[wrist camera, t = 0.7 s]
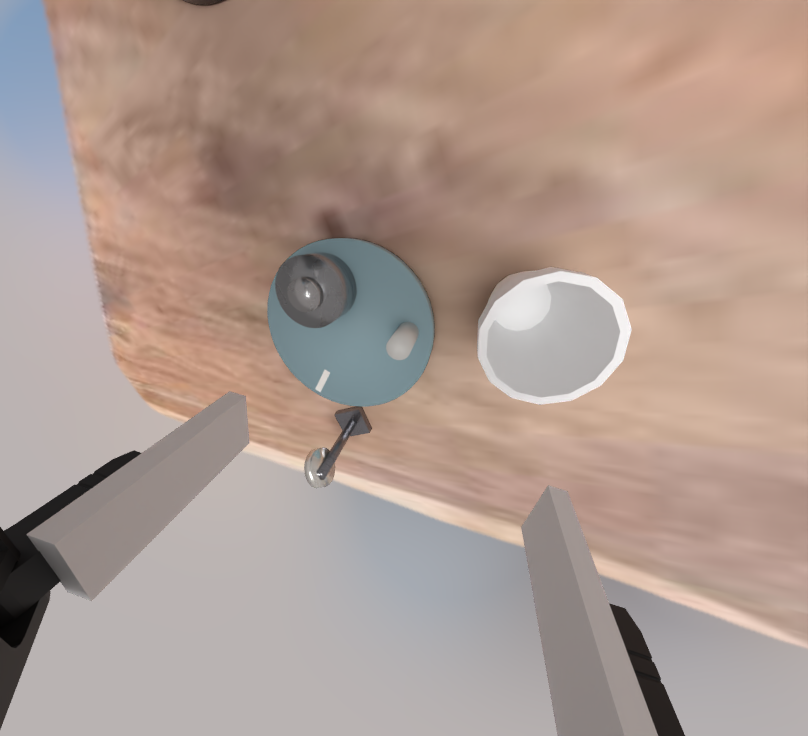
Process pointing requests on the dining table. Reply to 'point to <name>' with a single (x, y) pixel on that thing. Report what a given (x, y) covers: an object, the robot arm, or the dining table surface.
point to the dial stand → (335, 447)
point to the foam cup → (551, 335)
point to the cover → (315, 289)
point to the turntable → (361, 330)
